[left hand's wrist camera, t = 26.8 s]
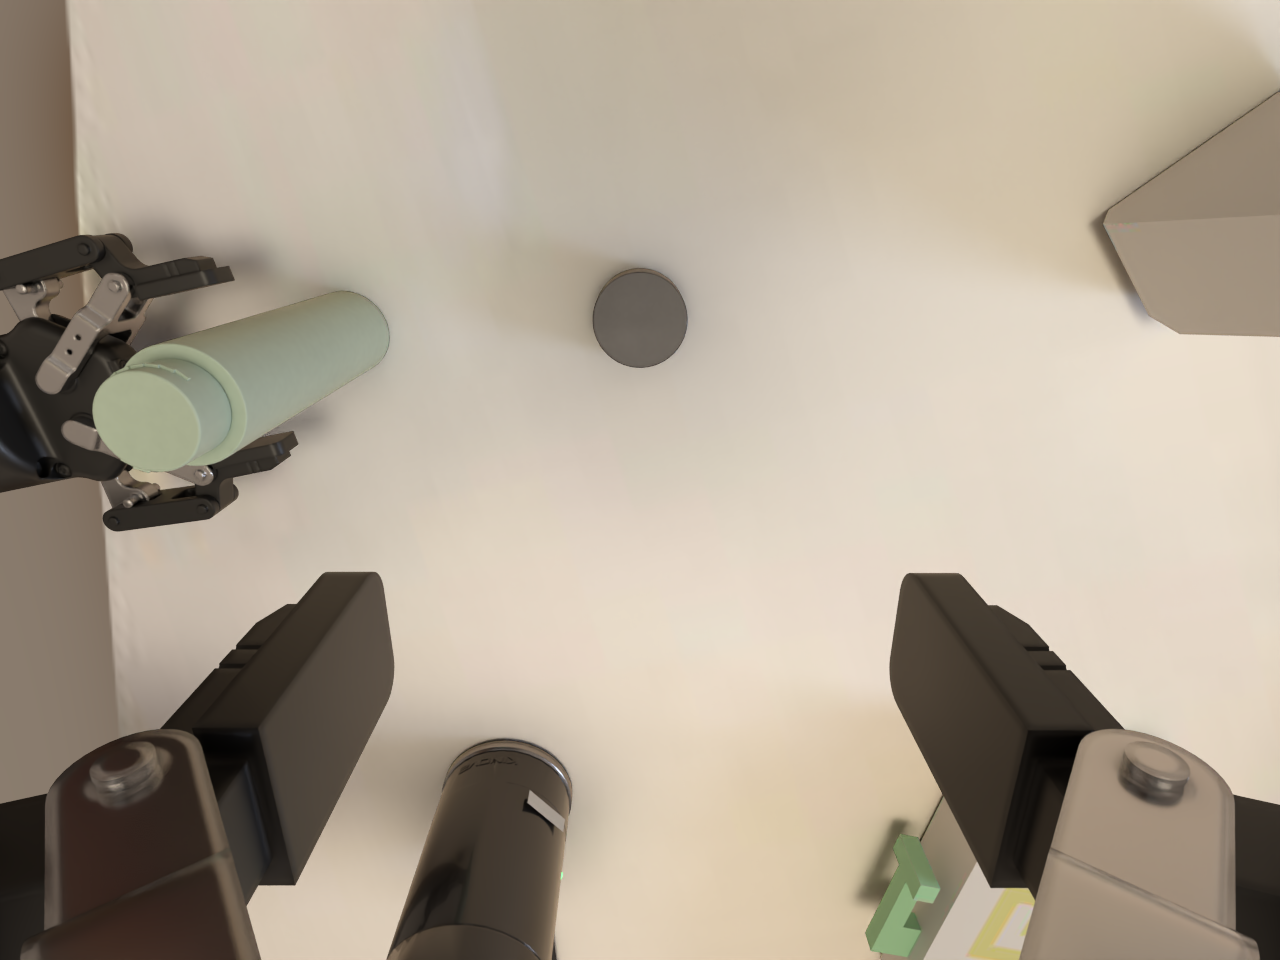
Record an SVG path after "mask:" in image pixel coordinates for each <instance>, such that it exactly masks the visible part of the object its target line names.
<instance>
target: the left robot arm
mask: <svg viewBox="0 0 1280 960" xmlns="http://www.w3.org/2000/svg"><path fill="white" fill-rule="evenodd" d="M393 678H394V656H393V649H392V642H391V635H390V628H389V622H388V615H387V608H386V601H385V594H384V588H383V583H382V580H381V578H380V576H379V574H378V573H376V572H325V573H323V574H322V575H321V576H320V577H319V578H318V580H317V581H316V582H315V583H314V584H313V586H312V587H311V588H310V589H309V590H308V591H307V593H306V594H305V595H304V596H303V597H302V598H301V600H300V601H299V602H298V603H297V604H287V605H285V606H283V607H282V608H280V609H278V610H277V611H275V612H274V613H272V614H270V615H269V616H267V617H265V618H264V619H262V620H260V621H259V622H257V623H256V624H255V625H254V626H253V627H252V628H251V629H250V630H249V632H248V633H247V634H246V635H245V636H244V637H243V638H242V639H241V640H240V641H239V643H238V644H237V645H236V650H231V651H230V653H229V654H228V655H227V656H226V657H225V658H224V659H223V660H222V661H221V662H220V664H219V668H215V669H214V670H213V671H212V672H211V673H210V675H209V676H208V677H207V678H206V679H205V680H204V681H203V682H202V683H201V684H200V686H199V687H198V688H197V689H196V690H195V691H194V692H193V693H192V694H191V695H190V697H189V698H188V699H187V700H186V701H185V702H184V703H183V704H182V705H181V707H180V708H179V709H178V710H177V711H176V712H175V713H174V714H173V715H172V716H171V718H170V719H169V720H168V721H167V722H166V723H165V724H164V725H163V726H162V727H161V729H157V730H149V731H144V732H139V733H135V734H132V735H128V736H125V737H122V738H119V739H117V740H114V741H112V742H109V743H107V744H105V745H103V746H101V747H99V748H97V749H95V750H93V751H92V752H90V753H88V754H86V755H85V756H83V757H82V758H80V759H79V760H77V761H76V762H75V763H73V764H72V765H71V766H70V767H69V768H67V769H66V770H65V771H64V772H63V773H62V774H61V775H60V776H59V777H58V778H57V779H56V781H55V782H54V783H53V785H52V786H51V788H50V790H49V792H48V794H43V795H39V796H34V797H30V798H25V799H20V800H16V801H11V802H6V803H2V804H0V960H261V957H260V954H259V950H258V947H257V943H256V939H255V936H254V932H253V929H252V925H251V921H250V918H249V914H248V911H247V907H246V906H247V904H248V902H249V901H250V899H251V897H252V895H253V893H254V892H255V890H256V888H257V886H258V885H296V883H297V881H298V879H299V877H300V875H301V873H302V871H303V869H304V867H305V865H306V863H307V861H308V859H309V857H310V855H311V853H312V851H313V849H314V847H315V845H316V843H317V841H318V839H319V837H320V835H321V833H322V831H323V829H324V827H325V825H326V823H327V821H328V819H329V817H330V815H331V813H332V811H333V809H334V807H335V805H336V803H337V801H338V799H339V797H340V795H341V793H342V791H343V789H344V787H345V785H346V783H347V781H348V779H349V777H350V775H351V773H352V771H353V769H354V767H355V765H356V763H357V761H358V759H359V757H360V755H361V753H362V751H363V749H364V747H365V745H366V743H367V741H368V739H369V737H370V736H371V734H372V732H373V730H374V728H375V726H376V724H377V722H378V720H379V718H380V716H381V714H382V712H383V710H384V708H385V706H386V704H387V702H388V699H389V697H390V694H391V690H392V685H393ZM890 682H891V688H892V692H893V696H894V699H895V701H896V703H897V705H898V707H899V709H900V711H901V713H902V715H903V717H904V719H905V721H906V723H907V725H908V727H909V729H910V731H911V733H912V735H913V737H914V739H915V741H916V743H917V745H918V747H919V749H920V751H921V753H922V755H923V756H924V758H925V760H926V762H927V764H928V766H929V768H930V770H931V772H932V774H933V776H934V778H935V780H936V782H937V784H938V786H939V788H940V790H941V792H942V794H943V796H944V798H945V800H946V802H947V804H948V806H949V808H950V809H951V811H952V813H953V815H954V817H955V819H956V821H957V823H958V825H959V827H960V829H961V831H962V833H963V835H964V837H965V839H966V841H967V843H968V845H969V847H970V849H971V851H972V853H973V855H974V857H975V859H976V861H977V862H978V864H979V866H980V868H981V870H982V872H983V874H984V876H985V878H986V880H987V882H988V884H989V886H990V888H1028V889H1029V891H1030V893H1031V894H1032V896H1033V898H1034V900H1035V903H1034V907H1033V911H1032V914H1031V918H1030V921H1029V925H1028V929H1027V932H1026V936H1025V939H1024V943H1023V947H1022V950H1021V954H1020V957H1019V960H1280V805H1278V804H1273V803H1268V802H1264V801H1259V800H1255V799H1250V798H1245V797H1241V796H1237V795H1233V794H1232V792H1231V790H1230V788H1229V786H1228V785H1227V783H1226V782H1225V781H1224V779H1223V778H1222V777H1221V776H1220V775H1219V774H1218V773H1217V772H1216V771H1215V770H1214V769H1213V768H1211V767H1210V766H1209V765H1208V764H1207V763H1205V762H1204V761H1203V760H1201V759H1200V758H1198V757H1197V756H1195V755H1194V754H1192V753H1190V752H1188V751H1187V750H1185V749H1183V748H1181V747H1179V746H1177V745H1175V744H1173V743H1171V742H1168V741H1166V740H1163V739H1161V738H1158V737H1155V736H1152V735H1148V734H1145V733H1141V732H1136V731H1131V730H1125V729H1124V728H1123V727H1122V726H1121V725H1120V724H1119V723H1118V722H1117V721H1116V719H1115V718H1114V717H1113V716H1112V715H1111V714H1110V713H1109V712H1108V711H1107V710H1106V709H1105V707H1104V706H1103V705H1102V704H1101V703H1100V702H1099V701H1098V700H1097V699H1096V698H1095V697H1094V695H1093V694H1092V693H1091V692H1090V691H1089V690H1088V689H1087V688H1086V687H1085V686H1084V684H1083V683H1082V682H1081V681H1080V680H1079V679H1078V678H1077V677H1076V676H1075V675H1074V674H1073V672H1072V671H1071V670H1066V665H1065V664H1064V663H1063V662H1062V660H1061V659H1060V658H1059V657H1058V656H1057V655H1056V654H1055V653H1054V652H1053V651H1049V646H1048V645H1047V644H1046V643H1045V642H1044V641H1043V640H1042V639H1041V638H1040V636H1039V635H1038V634H1037V633H1036V632H1035V631H1034V630H1033V629H1032V628H1031V627H1030V626H1029V624H1027V623H1025V622H1024V621H1022V620H1020V619H1019V618H1017V617H1015V616H1014V615H1012V614H1011V613H1009V612H1007V611H1006V610H1004V609H1002V608H1001V607H999V606H997V605H987V604H986V603H985V601H984V600H983V599H982V598H981V597H980V596H979V594H978V593H977V592H976V591H975V590H974V589H973V587H972V586H971V585H970V584H969V583H968V582H967V580H966V579H965V578H964V577H963V576H962V575H961V574H959V573H909V574H907V575H906V576H905V577H904V579H903V581H902V584H901V588H900V595H899V601H898V608H897V615H896V622H895V629H894V635H893V642H892V649H891V656H890Z"/></svg>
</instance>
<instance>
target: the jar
mask: <svg viewBox="0 0 1280 960" xmlns="http://www.w3.org/2000/svg"><path fill="white" fill-rule="evenodd" d="M388 344H389V331H388V326H387V323H386V320H385V318H384V316H383V315H382V313H381V312H380V310H379V309H378V308H377V307H376V306H375V305H374V304H373V303H372V302H371V301H370V300H368V299H367V298H365V297H363V296H361V295H359V294H356V293H353V292H348V291H338V292H333V293H329V294H326V295H322V296H319V297H315V298H312V299H309V300H305V301H302V302H298V303H295V304H292V305H288V306H285V307H281V308H278V309H275V310H271V311H268V312H264V313H261V314H258V315H254V316H251V317H247V318H244V319H240V320H237V321H234V322H230V323H227V324H223V325H220V326H217V327H213V328H210V329H206V330H203V331H200V332H196V333H193V334H189V335H186V336H183V337H179V338H176V339H172V340H169V341H165V342H162V343H159V344H155V345H152V346H149V347H147V348H144V349H142V350H141V351H139V352H137V353H136V354H135V355H134V356H133V357H131V359H130V360H129V361H128V362H127V363H126V365H125V367H124V368H122V369H120V370H118V371H116V372H114V373H113V374H112V375H111V376H110V377H109V378H108V379H107V380H105V381H104V382H103V383H102V385H101V386H100V387H99V389H98V390H97V392H96V394H95V397H94V401H93V410H92V411H93V419H94V424H95V426H96V429H97V431H98V433H99V435H100V437H101V439H102V440H103V442H104V443H105V444H106V446H107V447H108V448H109V449H110V450H111V451H112V452H113V453H114V454H115V455H116V456H118V457H119V458H120V459H121V461H123V462H125V463H127V464H129V465H131V466H133V469H136V470H140V471H143V472H147V473H150V472H151V471H153V472H167V471H172V470H176V469H178V468H181V467H183V466H184V465H190V466H203V465H210V464H214V463H217V462H220V461H222V460H224V459H225V458H227V457H229V456H230V455H232V454H234V453H235V452H237V451H239V450H240V449H242V448H243V447H245V446H247V445H248V444H250V443H251V442H253V441H255V440H256V439H258V438H260V437H261V436H263V435H264V434H266V433H268V432H269V431H271V430H272V429H274V428H276V427H277V426H279V425H281V424H282V423H284V422H285V421H287V420H289V419H290V418H292V417H293V416H295V415H297V414H298V413H300V412H302V411H303V410H305V409H306V408H308V407H310V406H311V405H313V404H314V403H316V402H318V401H319V400H321V399H323V398H324V397H326V396H327V395H329V394H331V393H332V392H334V391H335V390H337V389H339V388H340V387H342V386H344V385H345V384H347V383H348V382H350V381H352V380H353V379H355V378H356V377H358V376H360V375H361V374H363V373H365V372H366V371H368V370H369V369H371V368H373V367H374V366H376V365H377V364H378V363H379V362H380V361H381V360H382V358H383V357H384V355H385V353H386V351H387V348H388Z"/></svg>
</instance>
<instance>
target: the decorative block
mask: <svg viewBox="0 0 1280 960" xmlns="http://www.w3.org/2000/svg"><path fill="white" fill-rule="evenodd" d="M893 850H894V852H895V855H896V857H897V860H898V863H899V866H898V868H897V870H896V872H895V874H894V876H893V878H892V880H891V882H890V884H889V886H888V888H887V890H886V892H885V894H884V896H883V898H882V900H881V902H880V904H879V906H878V908H877V910H876V912H875V914H874V916H873V918H872V920H871V922H870V924H869V926H868V928H867V930H866V932H865V934H866V937H867V940H868V943H869V947H870V950H871V951H874V952H880V953H882V954H881V956H880V957H881V960H1019V957H1020V954H1021V950H1022V947H1023V943H1024V939H1025V936H1026V932H1027V929H1028V925H1029V921H1030V918H1031V914H1032V911H1033V907H1034V903H1035V900H1034V898H1033V896H1032V894H1031V893H1030V891H1029V889H1028V888H990V886H989V884H988V882H987V880H986V878H985V876H984V874H983V872H982V870H981V868H980V866H979V864H978V862H977V861H976V859H975V857H974V855H973V853H972V851H971V849H970V847H969V845H968V843H967V841H966V839H965V837H964V835H963V833H962V831H961V829H960V827H959V825H958V823H957V821H956V819H955V817H954V815H953V813H952V811H951V809H950V808H949V806H948V804H947V802H946V800H945V798H944V797H943V798H942V800H941V802H940V804H939V806H938V808H937V810H936V812H935V814H934V816H933V818H932V820H931V822H930V824H929V826H928V828H927V830H926V832H925V834H924V836H923V838H922V840H921V842H920V841H919V838H918V837H914V836H908V835H903V834H899V836H898V839H897V841H896V843H895V845H894V847H893Z"/></svg>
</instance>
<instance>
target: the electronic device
mask: <svg viewBox="0 0 1280 960" xmlns="http://www.w3.org/2000/svg"><path fill="white" fill-rule="evenodd" d="M1103 226H1104V228H1105V230H1106V232H1107V234H1108V236H1109V238H1110V240H1111V242H1112V244H1113V245H1114V247H1115V249H1116V251H1117V253H1118V255H1119V257H1120V259H1121V261H1122V263H1123V265H1124V267H1125V269H1126V271H1127V273H1128V275H1129V277H1130V279H1131V281H1132V283H1133V285H1134V287H1135V289H1136V291H1137V293H1138V295H1139V297H1140V299H1141V301H1142V303H1143V305H1144V307H1145V309H1146V311H1147V313H1148V315H1149V316H1150V317H1152V318H1154V319H1155V320H1157V321H1159V322H1160V323H1162V324H1164V325H1165V326H1167V327H1169V328H1170V329H1172V330H1174V331H1175V332H1177V333H1179V334H1196V335H1233V336H1270V337H1280V91H1279V92H1278V93H1276V94H1275V95H1273V96H1272V97H1271V98H1269V99H1268V100H1266V101H1265V102H1263V103H1262V104H1260V105H1259V106H1258V107H1256V108H1255V109H1253V110H1252V111H1250V112H1249V113H1247V114H1246V115H1245V116H1243V117H1242V118H1240V119H1239V120H1237V121H1236V122H1234V123H1233V124H1232V125H1230V126H1229V127H1227V128H1226V129H1224V130H1223V131H1221V132H1220V133H1219V134H1217V135H1216V136H1214V137H1213V138H1211V139H1210V140H1209V141H1207V142H1206V143H1204V144H1203V145H1201V146H1200V147H1198V148H1197V149H1196V150H1194V151H1193V152H1191V153H1190V154H1188V155H1187V156H1185V157H1184V158H1183V159H1181V160H1180V161H1178V162H1177V163H1175V164H1174V165H1172V166H1171V167H1170V168H1168V169H1167V170H1165V171H1164V172H1162V173H1161V174H1160V175H1158V176H1157V177H1155V178H1154V179H1152V180H1151V181H1149V182H1148V183H1147V184H1145V185H1144V186H1142V187H1141V188H1139V189H1138V190H1136V191H1135V192H1134V193H1132V194H1131V195H1129V196H1128V197H1126V198H1125V199H1123V200H1122V201H1121V202H1119V203H1118V204H1116V205H1115V206H1113V207H1112V208H1110V209H1109V210H1108V213H1107V215H1106V217H1105V220H1104V222H1103Z"/></svg>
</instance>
